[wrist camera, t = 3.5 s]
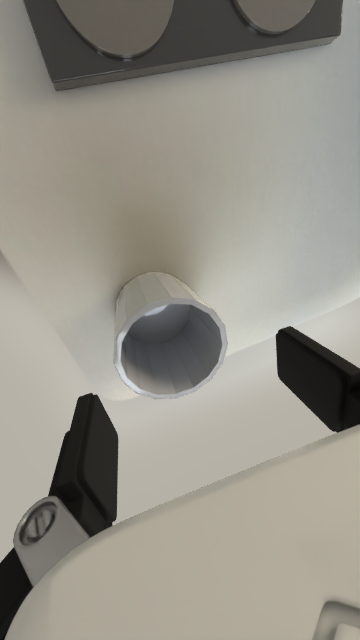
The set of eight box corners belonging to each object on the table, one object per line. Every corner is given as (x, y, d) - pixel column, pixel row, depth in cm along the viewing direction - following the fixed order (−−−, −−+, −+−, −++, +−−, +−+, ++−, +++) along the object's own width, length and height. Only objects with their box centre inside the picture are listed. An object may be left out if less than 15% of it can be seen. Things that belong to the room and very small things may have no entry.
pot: (130, 353, 22) (135, 413, 15) (103, 284, 19) (94, 320, 12) (198, 330, 23) (233, 377, 16) (183, 262, 20) (218, 282, 13)
